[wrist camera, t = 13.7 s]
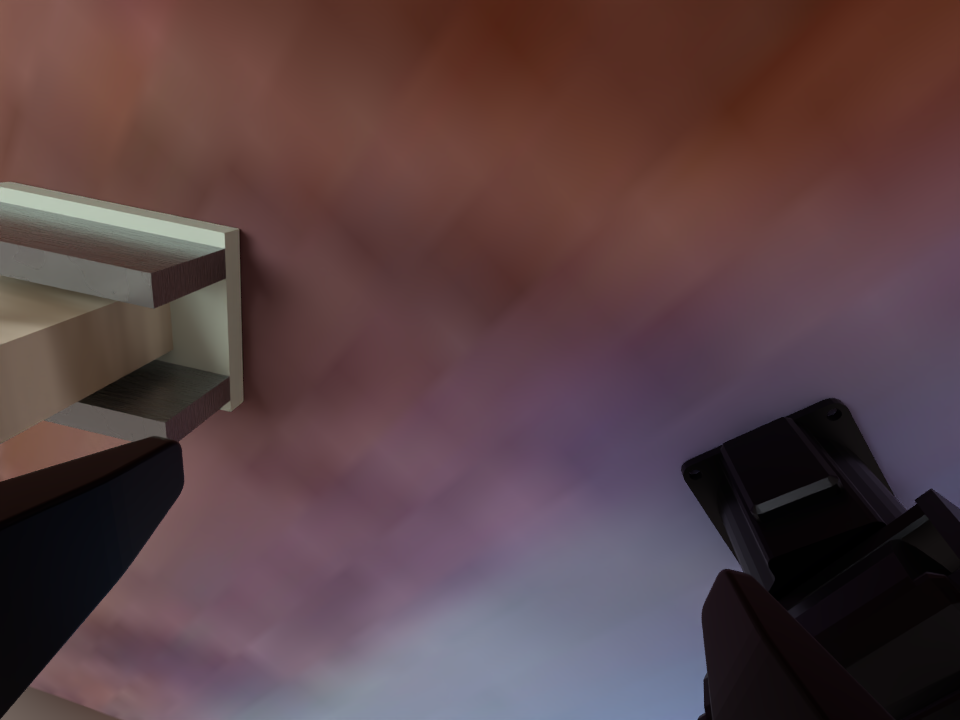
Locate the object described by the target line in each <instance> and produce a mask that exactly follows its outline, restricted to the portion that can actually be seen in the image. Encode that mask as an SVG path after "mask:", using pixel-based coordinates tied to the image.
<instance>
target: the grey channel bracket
mask: <svg viewBox="0 0 960 720" xmlns="http://www.w3.org/2000/svg"><path fill="white" fill-rule="evenodd" d="M0 275H2V276H7V277H11V278H16V279H20V280H25V281H30V282H34V283H39V284H43V285H48V286H52V287H57V288H61V289H66V290H71V291H75V292H80V293H84V294H89V295H93V296H98V297H102V298H107V299H112V300H116V301H121V302H125V303H130V304H134V305H139V306H143V307H148V308H153V309H155V308H157V307H160V306H162V305H164V304H167V303H169V302H170V312H171V324H172V337H173V350H171V351H169V352H168V353H166V354H164V355H162V356H160V357H158V358H157V359H155V360H153V361H151V362H149V363H147V364H146V365H144V366H142V367H140V368H138V369H137V370H135V371H133V372H131V373H129V374H127V375H126V376H124V377H122V378H120V379H118V380H116V381H115V382H113V383H111V384H109V385H107V386H105V387H104V388H102V389H100V390H98V391H96V392H94V393H93V394H91V395H89V396H87V397H85V398H84V399H82V400H80V401H78V402H76V403H74V404H73V405H71V406H69V407H67V408H65V409H63V410H62V411H60V412H58V413H56V414H54V415H52V416H51V417H49V418H47V419H45V420H44V421H48V422H53V423H57V424H61V425H65V426H69V427H73V428H78V429H82V430H86V431H90V432H94V433H99V434H103V435H107V436H111V437H115V438H120V439H124V440H128V441H132V442H134V441H137V440H141V439H144V438H147V437H151V436H159V437H163V438H168V439H172V440H175V441H177V442H179V441H180V440H181V439H182V438H184V437H185V436H186V435H187V434H189V433H190V432H191V431H193V430H194V429H195V428H196V427H198V426H199V425H200V424H201V423H203V422H204V421H205V420H206V419H208V418H209V417H210V416H211V415H213V414H214V413H215V412H216V411H218V410H219V409H220V410H225V411H229V412H232V411H233V410H234V409H235V408H236V407H238V406H239V405H240V404H241V403H242V402H244V401H243V361H242V320H241V279H240V239H239V229H237V228H233V227H228V226H223V225H218V224H213V223H208V222H203V221H199V220H194V219H189V218H184V217H179V216H174V215H169V214H164V213H160V212H155V211H150V210H145V209H140V208H135V207H130V206H126V205H121V204H116V203H111V202H106V201H101V200H96V199H92V198H87V197H82V196H77V195H72V194H67V193H62V192H58V191H53V190H48V189H43V188H38V187H33V186H28V185H24V184H19V183H14V182H3V183H0Z"/></svg>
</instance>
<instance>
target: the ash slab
mask: <svg viewBox="0 0 960 720" xmlns="http://www.w3.org/2000/svg"><path fill="white" fill-rule="evenodd" d="M171 350H173V337H172V324H171V312H170V302H169V303H167V304H164V305H162V306H160V307H157V308H155V309H153V308H148V307H143V306H139V305H134V304H130V303H125V302H121V301H116V300H112V299H107V298H102V297H98V296H93V295H89V294H84V293H80V292H75V291H71V290H66V289H61V288H57V287H52V286H48V285H43V284H39V283H34V282H30V281H25V280H20V279H16V278H11V277H7V276H2V275H0V444H1V443H3V442H5V441H7V440H9V439H10V438H12V437H14V436H16V435H18V434H20V433H21V432H23V431H25V430H27V429H29V428H30V427H32V426H34V425H36V424H38V423H40V422H41V421H43V420H45V419H47V418H49V417H51V416H52V415H54V414H56V413H58V412H60V411H62V410H63V409H65V408H67V407H69V406H71V405H73V404H74V403H76V402H78V401H80V400H82V399H84V398H85V397H87V396H89V395H91V394H93V393H94V392H96V391H98V390H100V389H102V388H104V387H105V386H107V385H109V384H111V383H113V382H115V381H116V380H118V379H120V378H122V377H124V376H126V375H127V374H129V373H131V372H133V371H135V370H137V369H138V368H140V367H142V366H144V365H146V364H147V363H149V362H151V361H153V360H155V359H157V358H158V357H160V356H162V355H164V354H166V353H168V352H169V351H171Z"/></svg>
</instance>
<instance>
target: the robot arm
mask: <svg viewBox="0 0 960 720" xmlns="http://www.w3.org/2000/svg"><path fill="white" fill-rule="evenodd" d="M832 409H837V410H836V412H835V413H834V414H833V415H829V416H827V413H828V412H829V411H830V410H832ZM692 470H700V471H699V472H698V473H697V474H690V472H691V471H692ZM681 472H682V475H683V477H684V480H685V482H686V483H687V485H688V486H689V488H690V489H691V491H692V492H693V494H694V495H695V497H696V498H697V500H698V501H699V503H700V504H701V506H702V507H703V509H704V510H705V512H706V514H707V515H708V517H709V518H710V520H711V521H712V523H713V524H714V526H715V527H716V529H717V530H718V532H719V533H720V535H721V536H722V538H723V539H724V541H725V542H726V544H727V545H728V547H729V549H730V550H731V552H732V553H733V555H734V556H735V558H736V559H737V561H738V562H739V564H740V565H741V568H742V570H743V572H739V571H734V570H730V569H724V570H722V571H721V572H720V573H719V574H718V576H717V578H716V580H715V582H714V584H713V586H712V588H711V590H710V592H709V594H708V596H707V598H706V601H705V603H704V605H703V609H702V628H703V638H704V647H705V656H706V665H707V674H706V676H705V678H704V708H705V713H704V714H702V715H701V716H699V718H698V720H960V509H959V508H958V507H956V506H955V505H954V504H952V503H951V502H949V501H948V500H947V499H945V498H944V497H943V496H941V495H940V494H938V493H937V492H936V491H934V490H933V489H930V490H928V491H927V492H926V493H924V494H923V495H921V496H920V497H919V498H917V499H916V500H915V502H916V503H917V504H916V505H915V506H913V507H912V508H910V509H909V510H908V511H907V510H906V509H905V508H904V507H903V506H902V504H901V503H900V502H899V501H898V500H897V499H896V498H895V497H894V495H893V493H892V491H891V489H890V487H889V485H888V483H887V481H886V479H885V478H884V476H883V474H882V472H881V470H880V468H879V466H878V464H877V462H876V461H875V459H874V457H873V455H872V453H871V451H870V449H869V447H868V445H867V443H866V442H865V440H864V438H863V436H862V434H861V432H860V430H859V428H858V426H857V425H856V423H855V421H854V419H853V417H852V415H851V413H850V411H849V409H848V408H847V407H846V406H845V405H844V404H843V403H842V402H841V401H840V400H838V399H835V398H829V399H825V400H822V401H820V402H818V403H816V404H813V405H811V406H809V407H807V408H804V409H802V410H800V411H798V412H795V413H793V414H791V415H789V416H786V417H781V418H779V419H777V420H774V421H772V422H770V423H768V424H765V425H763V426H761V427H759V428H756V429H754V430H752V431H750V432H748V433H745V434H743V435H741V436H739V437H736V438H734V439H732V440H730V441H727V442H725V443H724V444H723V445H721V446H719V447H717V448H715V449H712V450H710V451H708V452H706V453H703V454H701V455H699V456H697V457H694V458H692V459H690V460H688V461H686V462H685V463H684V464H683V465H682V467H681ZM183 486H184V470H183V458H182V448H181V445H180V444H179V442H177V441H175V440H172V439H168V438H163V437H159V436H151V437H147V438H144V439H141V440H137V441H134V442H131V443H127V444H124V445H121V446H118V447H114V448H111V449H108V450H104V451H101V452H98V453H94V454H91V455H88V456H84V457H81V458H78V459H74V460H71V461H68V462H64V463H61V464H58V465H55V466H51V467H48V468H45V469H41V470H38V471H35V472H31V473H28V474H25V475H21V476H18V477H15V478H11V479H8V480H5V481H1V482H0V719H1V718H2V717H3V716H4V714H5V713H6V712H7V711H8V710H9V708H10V707H11V706H12V705H13V704H14V703H15V701H16V700H17V699H18V698H19V697H20V696H21V694H22V693H23V692H24V691H25V690H26V689H27V687H28V686H29V685H30V684H31V683H32V682H33V680H34V679H35V678H36V677H37V676H38V675H39V673H40V672H41V671H42V670H43V669H44V667H45V666H46V665H47V664H48V663H49V662H50V660H51V659H52V658H53V657H54V656H55V655H56V653H57V652H58V651H59V650H60V649H61V648H62V646H63V645H64V644H65V643H66V642H67V640H68V639H69V638H70V637H71V636H72V635H73V633H74V632H75V631H76V630H77V629H78V628H79V626H80V625H81V624H82V623H83V622H84V621H85V619H86V618H87V617H88V616H89V615H90V613H91V612H92V611H93V610H94V609H95V608H96V606H97V605H98V604H99V603H100V602H101V601H102V599H103V598H104V597H105V596H106V595H107V594H108V592H109V591H110V590H111V589H112V588H113V586H114V585H115V584H116V583H117V581H118V580H119V579H120V578H121V577H122V575H123V574H124V573H125V571H126V570H127V569H128V567H129V566H130V565H131V563H132V562H133V561H134V559H135V558H136V557H137V555H138V554H139V552H140V551H141V549H142V548H143V547H144V545H145V544H146V542H147V541H148V539H149V538H150V537H151V535H152V534H153V532H154V531H155V529H156V528H157V527H158V525H159V524H160V522H161V521H162V519H163V518H164V517H165V515H166V514H167V512H168V511H169V509H170V508H171V507H172V505H173V504H174V502H175V501H176V499H177V498H178V497H179V495H180V493H181V491H182V489H183Z"/></svg>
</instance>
